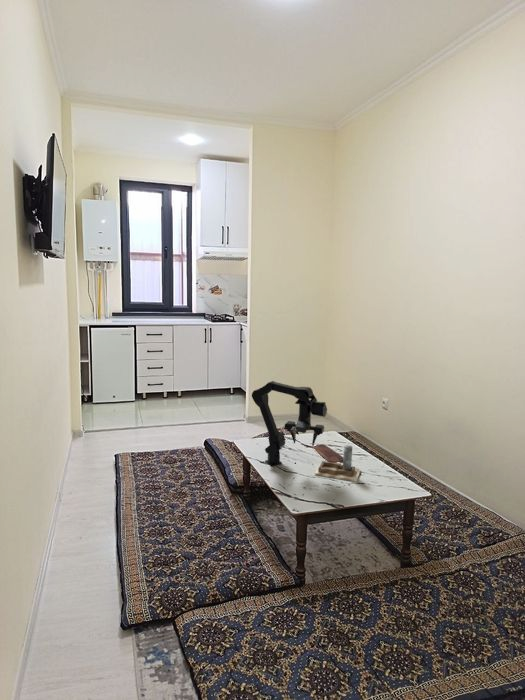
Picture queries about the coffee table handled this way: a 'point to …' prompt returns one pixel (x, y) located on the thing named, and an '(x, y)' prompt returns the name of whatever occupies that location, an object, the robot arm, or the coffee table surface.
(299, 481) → the coffee table surface
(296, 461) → the coffee table surface
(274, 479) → the coffee table surface
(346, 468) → the slate peg
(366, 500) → the coffee table surface
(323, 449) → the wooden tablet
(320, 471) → the keyhole board
